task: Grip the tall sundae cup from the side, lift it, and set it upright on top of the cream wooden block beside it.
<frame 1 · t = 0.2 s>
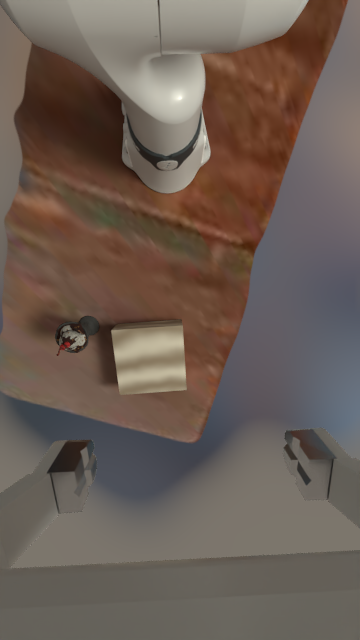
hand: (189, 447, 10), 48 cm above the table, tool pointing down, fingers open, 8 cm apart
sundae: (89, 325, 57), on the table
cream block: (152, 351, 59), on the table
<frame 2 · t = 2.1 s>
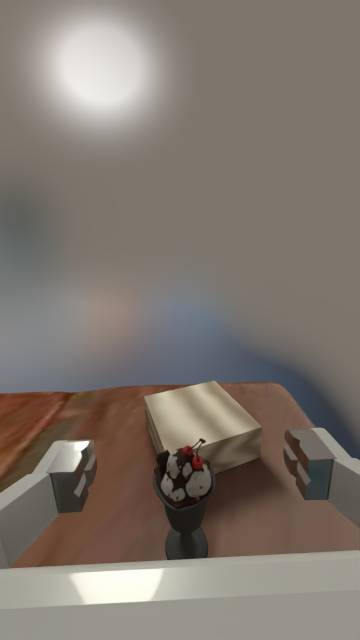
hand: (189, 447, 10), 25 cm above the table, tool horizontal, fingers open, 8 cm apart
sundae: (186, 546, 27), on the table
cream block: (196, 437, 43), on the table
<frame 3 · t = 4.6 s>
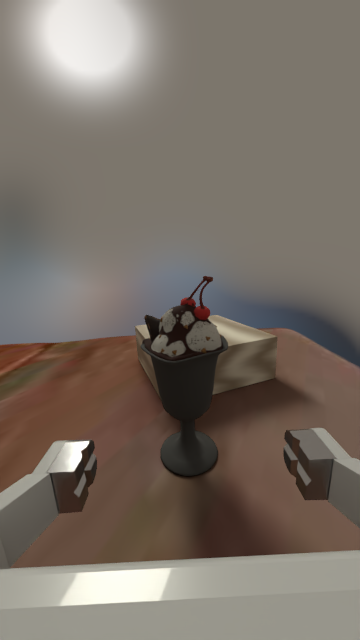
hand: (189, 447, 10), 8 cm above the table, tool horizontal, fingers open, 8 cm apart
sundae: (189, 453, 20), on the table
cream block: (198, 367, 37), on the table
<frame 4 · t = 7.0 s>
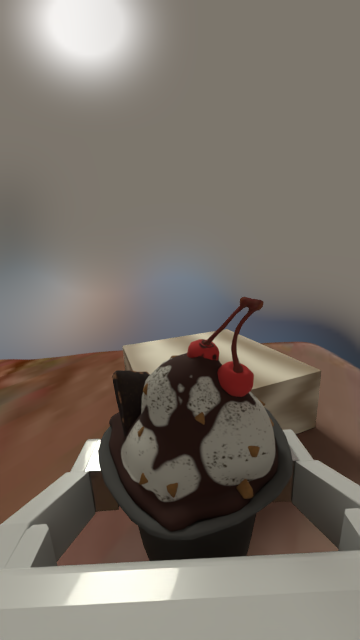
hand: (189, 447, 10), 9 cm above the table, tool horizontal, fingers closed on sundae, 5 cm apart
sundae: (198, 617, 11), on the table, touching gripper
cream block: (205, 403, 27), on the table
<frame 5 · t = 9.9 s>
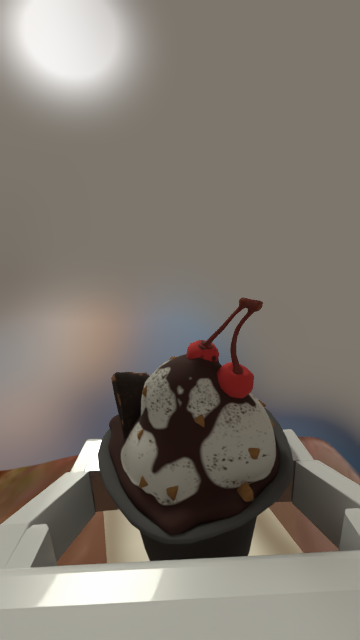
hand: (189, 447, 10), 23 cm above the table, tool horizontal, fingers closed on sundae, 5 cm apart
sundae: (200, 618, 11), point 15 cm above the table, touching gripper
cream block: (206, 604, 22), on the table
when the fingers open (16 cm above the table, at t = 12.9 s): sundae drops 1 cm, resting on cream block.
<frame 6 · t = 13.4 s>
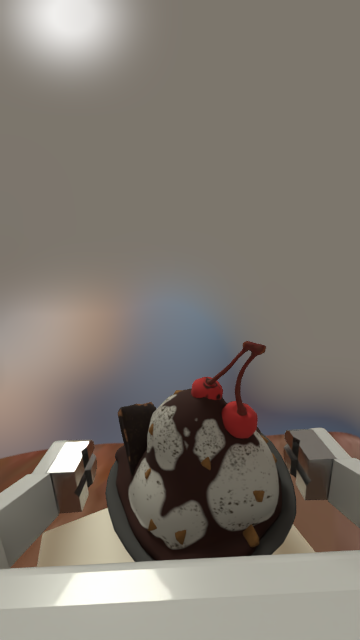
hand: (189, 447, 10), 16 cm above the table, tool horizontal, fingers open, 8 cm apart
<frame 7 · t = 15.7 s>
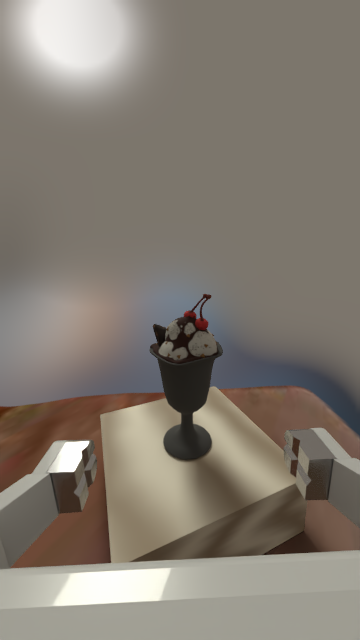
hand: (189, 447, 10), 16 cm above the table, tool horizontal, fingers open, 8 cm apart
sundae: (187, 441, 24), point 6 cm above the table, touching cream block
cream block: (186, 486, 25), on the table
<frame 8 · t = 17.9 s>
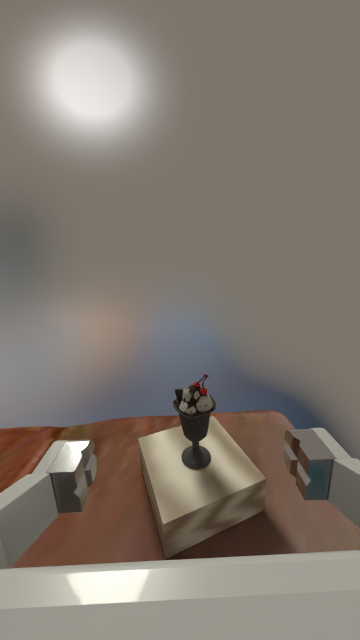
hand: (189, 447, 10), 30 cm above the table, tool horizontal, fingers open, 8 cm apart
sundae: (196, 457, 39), point 6 cm above the table, touching cream block
cream block: (195, 484, 40), on the table
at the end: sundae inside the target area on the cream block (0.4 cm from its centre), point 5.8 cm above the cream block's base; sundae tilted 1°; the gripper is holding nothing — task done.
